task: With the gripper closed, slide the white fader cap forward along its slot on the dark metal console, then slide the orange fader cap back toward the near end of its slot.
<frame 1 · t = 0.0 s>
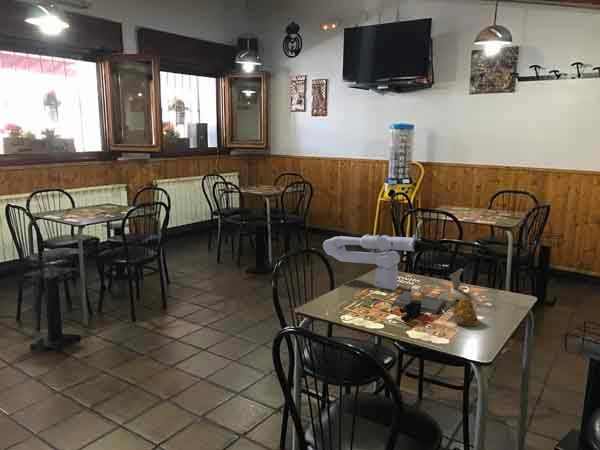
hand: (434, 245, 200), 22 cm above the table, tool horizontal, fingers open, 7 cm apart
rock: (462, 321, 176), on the table
fader orange: (417, 298, 189), point 4 cm above the table, slide at 5.5 cm
jawbone: (457, 296, 204), on the table
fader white: (415, 291, 197), point 4 cm above the table, slide at 0.0 cm
console: (419, 303, 193), on the table
toy: (409, 317, 179), on the table
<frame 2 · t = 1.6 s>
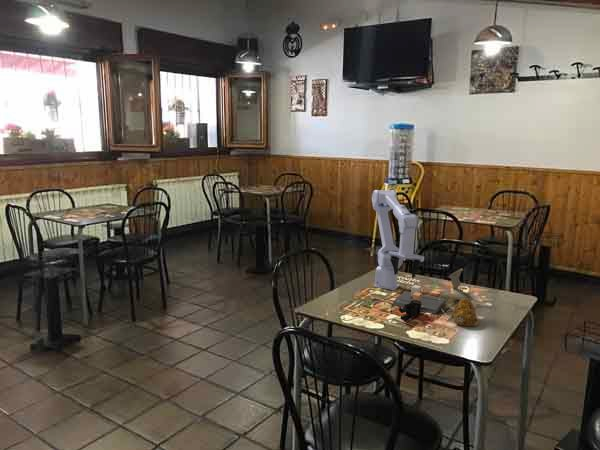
hand: (404, 275, 199), 9 cm above the table, tool pointing down, fingers open, 7 cm apart
nothing on the table moved.
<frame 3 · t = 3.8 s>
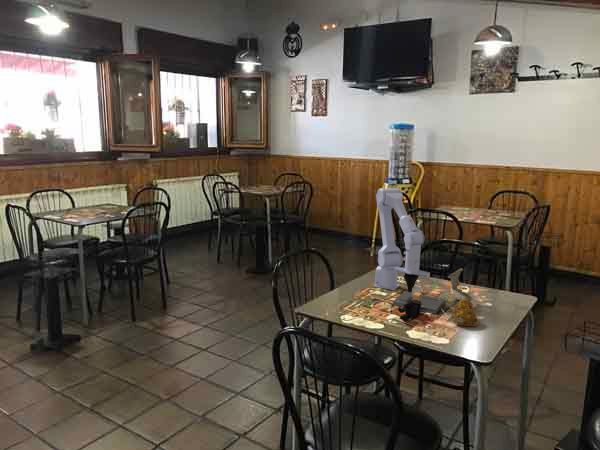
hand: (410, 291, 198), 3 cm above the table, tool pointing down, fingers closed
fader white: (416, 291, 197), point 4 cm above the table, slide at 0.4 cm, touching gripper
everything else where it was.
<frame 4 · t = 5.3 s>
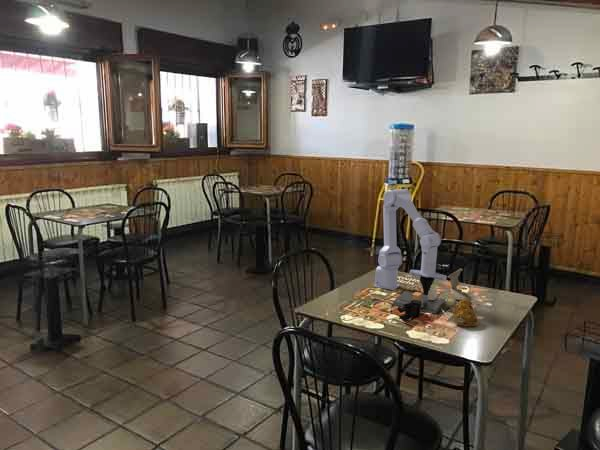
hand: (426, 294, 195), 3 cm above the table, tool pointing down, fingers closed
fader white: (432, 294, 194), point 4 cm above the table, slide at 7.1 cm, touching gripper
everything else where it was.
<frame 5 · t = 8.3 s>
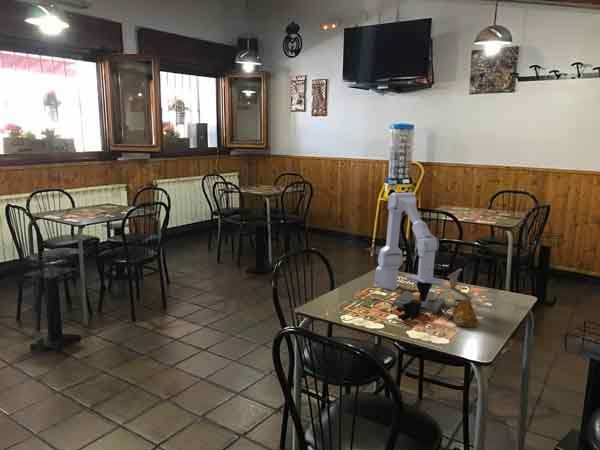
hand: (423, 300, 188), 3 cm above the table, tool pointing down, fingers closed
fader orange: (417, 298, 189), point 4 cm above the table, slide at 5.5 cm, touching gripper
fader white: (432, 294, 194), point 4 cm above the table, slide at 7.1 cm
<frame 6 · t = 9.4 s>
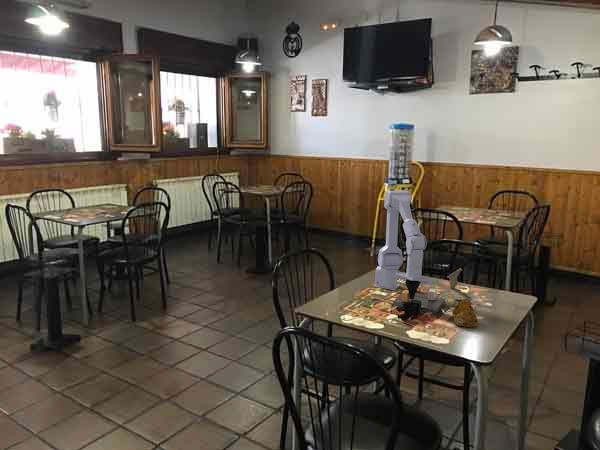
hand: (412, 298, 190), 3 cm above the table, tool pointing down, fingers closed
fader orange: (405, 295, 191), point 4 cm above the table, slide at 0.9 cm, touching gripper
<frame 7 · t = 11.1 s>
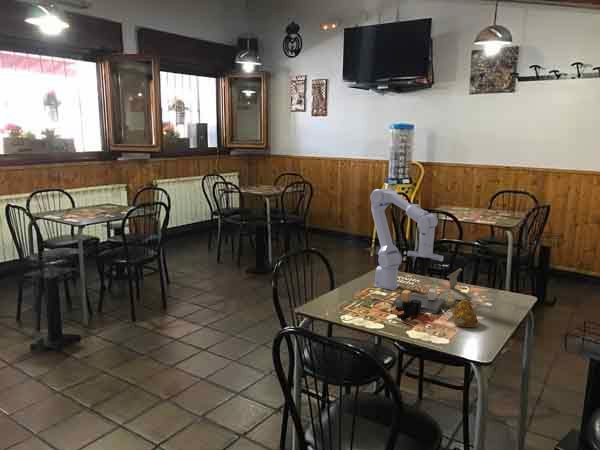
hand: (423, 275, 199), 10 cm above the table, tool pointing down, fingers closed
fader orange: (405, 295, 191), point 4 cm above the table, slide at 0.9 cm
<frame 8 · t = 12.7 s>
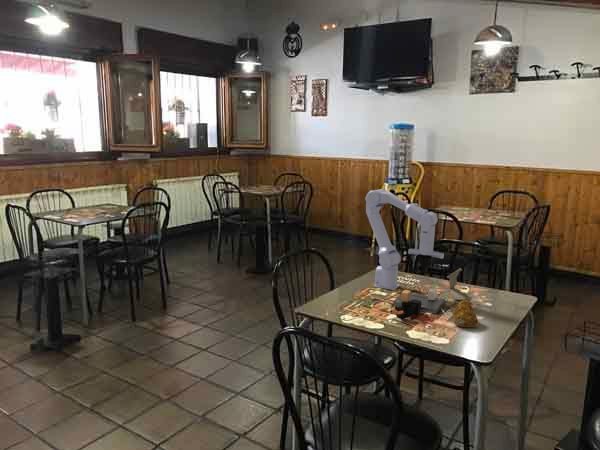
hand: (424, 272, 202), 10 cm above the table, tool pointing down, fingers closed
at the end: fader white slide at 7.1 cm; fader orange slide at 0.9 cm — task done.
